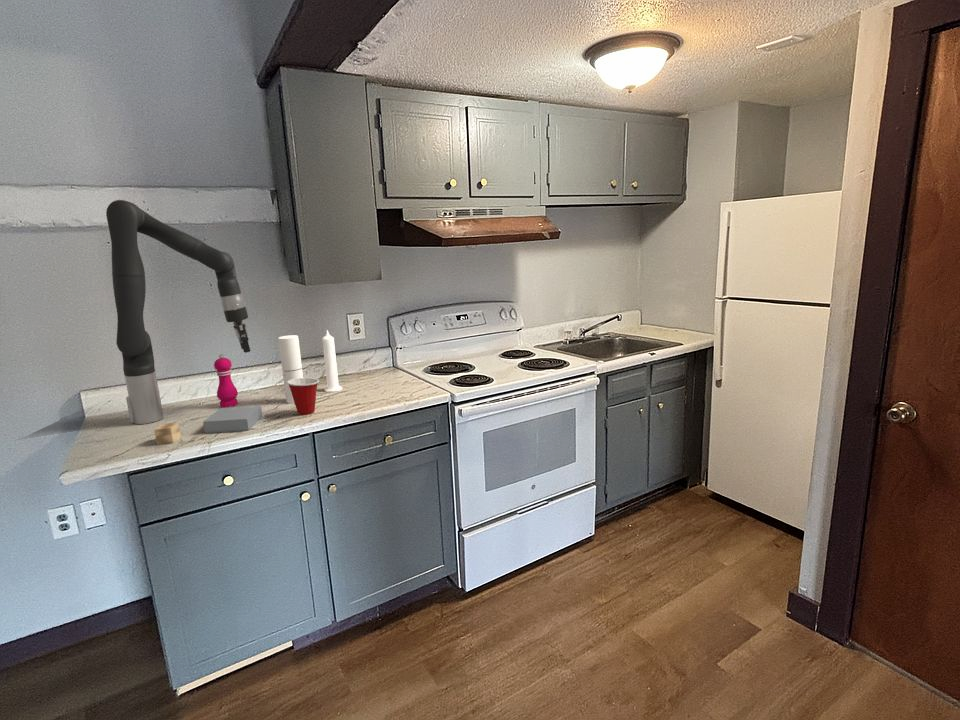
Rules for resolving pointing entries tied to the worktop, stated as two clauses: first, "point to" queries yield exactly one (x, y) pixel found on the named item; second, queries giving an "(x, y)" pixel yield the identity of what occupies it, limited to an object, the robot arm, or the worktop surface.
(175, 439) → the oak cube
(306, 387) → the plastic cup
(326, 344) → the candle
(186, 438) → the worktop surface
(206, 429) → the slate plinth
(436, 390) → the worktop surface
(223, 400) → the pepper mill
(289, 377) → the cylindrical container
